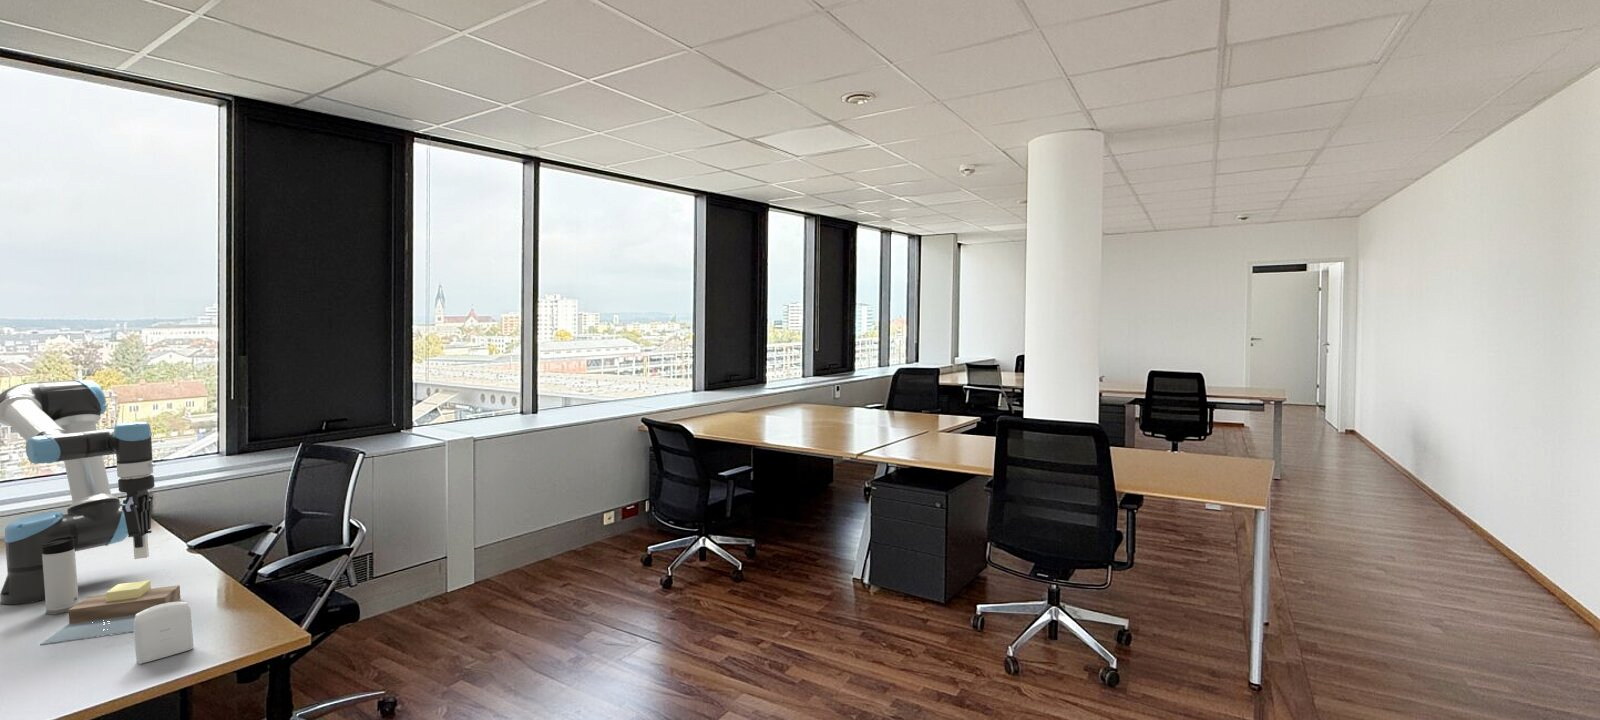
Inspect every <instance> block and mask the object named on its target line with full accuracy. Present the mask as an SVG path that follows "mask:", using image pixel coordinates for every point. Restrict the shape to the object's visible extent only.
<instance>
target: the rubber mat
mask: <svg viewBox="0 0 1600 720" xmlns="http://www.w3.org/2000/svg"><path fill="white" fill-rule="evenodd" d="M134 619H135V615H130V616H123V617H115V618H108V619H100V620H93V621H86V622H78V623H71V624H69V623H68V624H67V625H65V626H64V627H63V628H61V629H60V630H58V631H57V632H55V633H54V634H53V635H51V636H50V637H48V638H47V639H45V640H44V641H42V642H41V643H40V645H39V646H44V645H45V646H46V645H51V644H59V643H65V641H67V642H71V640H74V641H78V640H77V639H81V640H85V639H84V638H88V639H92V638H91V637H95V638H98V637H97V636H102V635H109V636H111V635H110V634H116V635H120V634H119V633H123V634H127V633H126V632H130V633H134ZM103 620H104V621H103ZM107 621H110V622H107ZM92 622H93V623H92ZM103 622H105V625H103V624H104V623H103ZM108 623H110V624H108ZM103 629H105V630H104V631H103ZM107 629H108V630H107ZM117 633H118V634H117ZM102 637H103V636H102Z"/></svg>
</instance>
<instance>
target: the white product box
mask: <svg viewBox="0 0 1600 720" xmlns="http://www.w3.org/2000/svg"><path fill="white" fill-rule="evenodd" d="M133 634H134V637H133V638H134V645H135V646H134V647H135V648H134V649H135V658H136V663H137V664H138V665H143V664H145V663H148V662H149V663H150V662H152V661H156V660H160V659H163V658H167V657H171V656H173V655H177V654H180V653H183V652H187V651H191V650H193V649H194V635H193V621H192V609H191V607H190V606H189V603H188V602H187V601H177V602H170V603H164V604H160V605H156V606H153V607H150V608H148V609H145V610H143V611H141V612H139V613H137V614H135V619H134V632H133Z"/></svg>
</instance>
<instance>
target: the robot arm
mask: <svg viewBox="0 0 1600 720" xmlns="http://www.w3.org/2000/svg"><path fill="white" fill-rule="evenodd" d="M106 402H107V400H106V396H105V393H104V390H103V389H102V388H101V385H100V384H98V383H97V382H96V381H94V380H92V379H72V380H58V381H57V380H56V381H41V382H35V381H34V382H25V383H20V384H17V385H14V386H11V387H9V388H7V389H5V390H4V391H3V392H1V393H0V424H2V425H3V426H8V427H11V428H12V429H13V430H14V431H16V433H17V434H18V435H19V436H20V437H22V438H23V439H24V440H25V441H26V443H25V454H26V457H27V460H28V461H29V463H31V464H36V465H37V464H53V463H58V462H59V463H60V462H63V463H64V467H65V472H66V477H67V481H68V485H69V486H68V487H69V491H70V496H71V500H72V503H71V504H70V505H69V506H68V508H67V509H66V510H67V511H66V512H67V513H65V514H64V513H63V512H62V511H60V510H51V511H47V512H44V511H43V512H40V513H33V514H30V515H26V516H24V517H21V518H18V519H15V520H13V521H11V522H9V523H8V524H7V525H6V526H5V529H4V539H3V542H4V544H5V545H4V547H5V557H6V569H7V570H6V571H7V576H6V577H5V581H4V583H3V585H2V588H1V591H0V603H1V604H3V605H19V604H18V603H22V604H28V602H29V603H34V602H33V601H35V602H39V601H38V600H40V601H44V600H43V599H45V587H44V573H43V559H42V557H43V556H42V551H43V550H42V544H44V543H46V542H48V541H51V540H54V539H58V538H63V537H68V536H75V538H74V548H75V550H74V551H75V553H76V552H80V551H85V550H89V549H95V548H99V547H104V546H105V547H108V546H110V545H112V544H116V543H120V542H123V541H124V540H126V539H127V538H132V542H133V556H134V557H133V558H134V560H138V559H147V558H148V557H150V552H149V538H148V534H151V533H152V530H151V529H152V509H153V508H152V507H153V505H152V504H153V499H154V496H153V495H149V491H148V490H152V489H153V488H155V476H154V475H153V474H154V467H155V466H156V463H154V462H153V461H154V460H153V459H154V458H153V445H152V444H153V443H152V435H153V433H152V430H151V424H150V423H149V422H148V421H131V422H129V421H128V422H122V423H121V422H120V423H118V424H116V425H115V426H111V427H107V428H104V429H98V428H97V425H96V424H97V423H98V422H99V421H100V420H101V418H102V417H101V415H102V414H105V412H106V411H107V404H106ZM110 455H111V456H113V455H116V456H115V457H116V474H117V477H118V478H119V479H118V480H117V485H118V492H119V493H126V498H125V503H121V501H120V499H119V497H117V496H115V495H113V494H112V493H111V492H112V491H111V489H110V484H109V483H110V482H109V479H108V474H107V469H106V465H105V460H104V456H110Z"/></svg>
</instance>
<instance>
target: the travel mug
mask: <svg viewBox="0 0 1600 720" xmlns="http://www.w3.org/2000/svg"><path fill="white" fill-rule="evenodd" d="M74 538H75V536H68V537H63V538H58V539H54V540H51V541H48V542H46V543H44V544H42V550H43V551H42V556H43V557H42V559H43V573H44V587H45V600H44V601H45V607H46V608H45V612H46V614H48V615H59V614H64V612H65V613H68V610H69V609H70V608H72V607H73V606H75V605H76V604H78V603H79V589H78V575H77V561H76V559H77V558H76V552H75V551H74V550H75V548H74Z"/></svg>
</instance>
